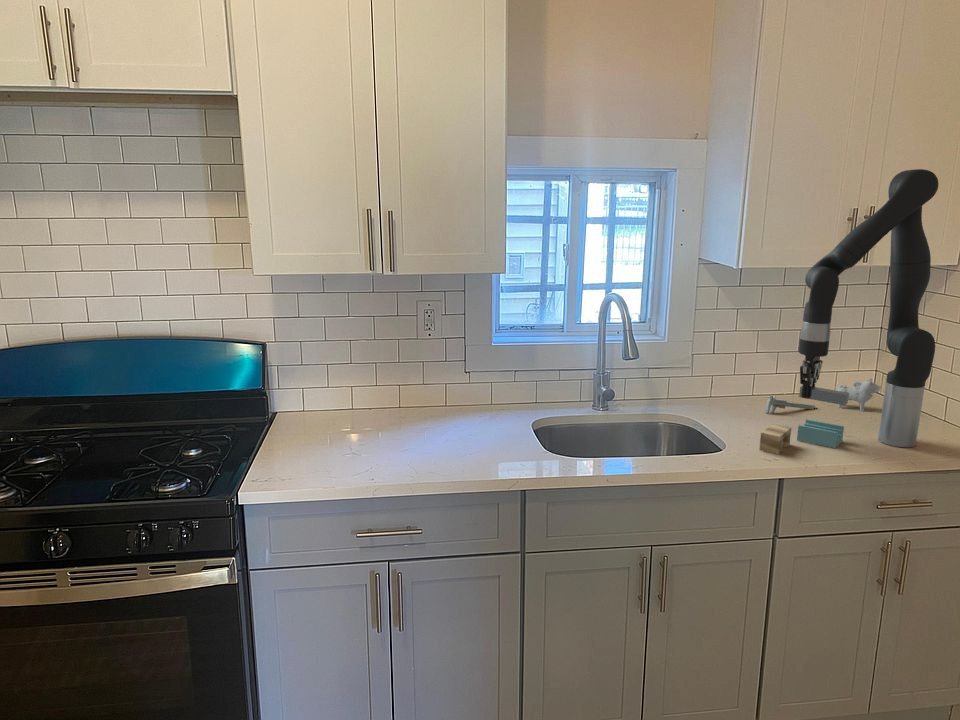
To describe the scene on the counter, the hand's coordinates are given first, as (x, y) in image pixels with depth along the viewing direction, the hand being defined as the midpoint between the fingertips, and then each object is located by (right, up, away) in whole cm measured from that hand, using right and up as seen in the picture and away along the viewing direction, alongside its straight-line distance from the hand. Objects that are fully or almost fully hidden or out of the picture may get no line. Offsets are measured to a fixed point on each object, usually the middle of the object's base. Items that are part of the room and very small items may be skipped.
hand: (807, 396), depth 191 cm
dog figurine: (+31, -6, +31) cm, 44 cm away
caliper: (+9, -7, +28) cm, 30 cm away
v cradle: (+3, -13, 0) cm, 13 cm away
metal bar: (+3, -1, -3) cm, 4 cm away
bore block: (-12, -14, -5) cm, 19 cm away
